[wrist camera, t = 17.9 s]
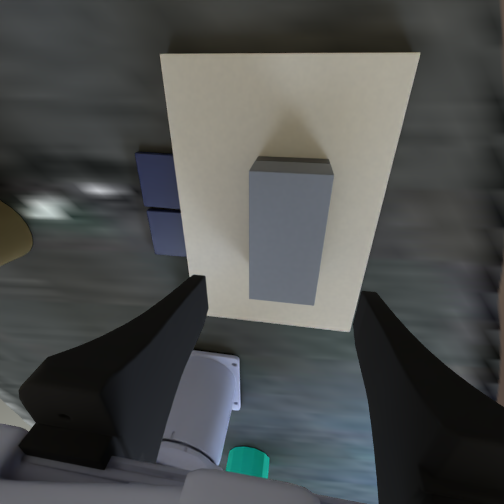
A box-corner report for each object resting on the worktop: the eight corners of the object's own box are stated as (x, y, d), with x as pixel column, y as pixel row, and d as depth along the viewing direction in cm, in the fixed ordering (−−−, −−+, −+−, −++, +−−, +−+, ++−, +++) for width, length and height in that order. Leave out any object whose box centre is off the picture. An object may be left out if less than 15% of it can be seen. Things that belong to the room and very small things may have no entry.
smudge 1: (190, 254, 25) (188, 257, 24) (157, 251, 25) (154, 254, 24) (185, 210, 22) (182, 213, 22) (149, 208, 23) (146, 210, 22)
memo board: (348, 324, 26) (349, 332, 25) (197, 307, 28) (194, 314, 27) (414, 53, 15) (420, 52, 15) (166, 54, 17) (159, 53, 16)
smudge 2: (183, 207, 22) (181, 209, 22) (147, 203, 23) (143, 206, 22) (177, 154, 20) (175, 155, 20) (137, 151, 21) (134, 152, 20)
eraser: (257, 155, 18) (248, 170, 16) (329, 158, 18) (334, 174, 15) (255, 270, 23) (249, 299, 20) (312, 276, 23) (314, 306, 20)
